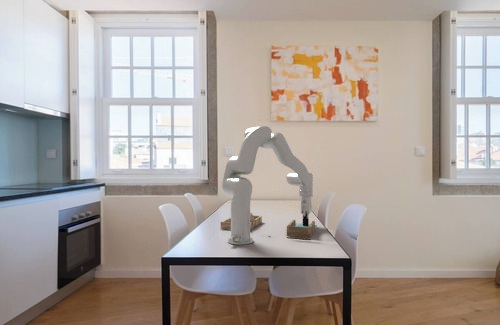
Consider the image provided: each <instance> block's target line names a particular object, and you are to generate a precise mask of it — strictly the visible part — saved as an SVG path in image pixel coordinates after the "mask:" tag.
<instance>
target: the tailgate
mask: <svg viewBox="0 0 500 325" xmlns="http://www.w3.org/2000/svg"><path fill="white" fill-rule="evenodd" d="M310 224H311V223H309V225H308V226H303V223H296V226H298V227H309V226H310ZM317 227H318V226H317V224H315V230H316V229H317Z"/></svg>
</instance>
